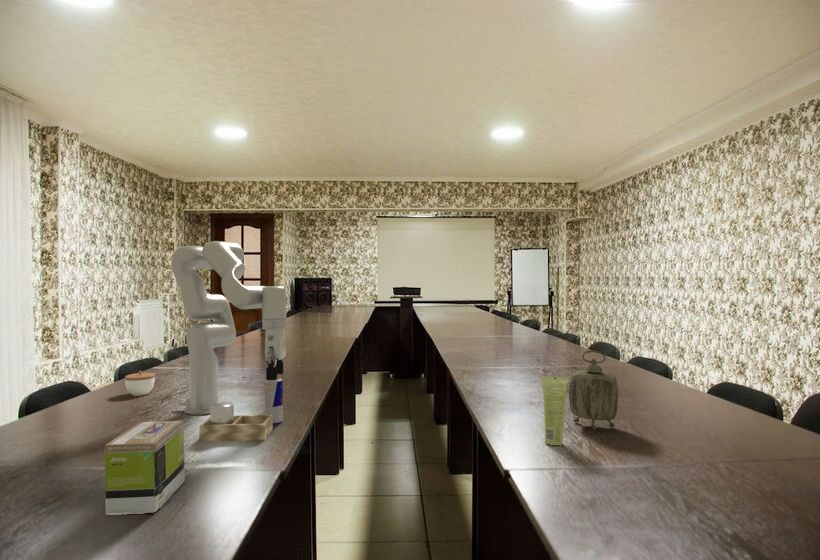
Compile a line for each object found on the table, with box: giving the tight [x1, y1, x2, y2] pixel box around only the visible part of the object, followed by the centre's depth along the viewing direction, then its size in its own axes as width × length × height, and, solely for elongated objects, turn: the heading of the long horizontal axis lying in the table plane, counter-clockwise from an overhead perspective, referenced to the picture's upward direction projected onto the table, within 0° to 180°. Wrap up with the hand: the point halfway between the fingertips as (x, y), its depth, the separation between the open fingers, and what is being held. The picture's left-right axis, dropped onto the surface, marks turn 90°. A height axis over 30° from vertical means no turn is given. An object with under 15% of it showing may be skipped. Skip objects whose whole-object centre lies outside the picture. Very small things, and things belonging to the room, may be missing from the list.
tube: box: [541, 375, 569, 446], centre depth 134 cm, size 6×5×20 cm
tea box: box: [104, 420, 186, 515], centre depth 99 cm, size 15×10×15 cm, turn 5°
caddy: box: [198, 414, 274, 443], centre depth 137 cm, size 18×10×6 cm, turn 94°
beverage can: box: [264, 377, 284, 426], centre depth 149 cm, size 6×6×15 cm
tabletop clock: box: [568, 349, 619, 430], centre depth 148 cm, size 14×9×25 cm, turn 65°
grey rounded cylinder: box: [210, 401, 235, 425], centre depth 136 cm, size 6×6×9 cm
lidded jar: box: [124, 370, 156, 397], centre depth 190 cm, size 11×11×9 cm
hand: (275, 376), depth 149 cm, fingers open, 9 cm apart
